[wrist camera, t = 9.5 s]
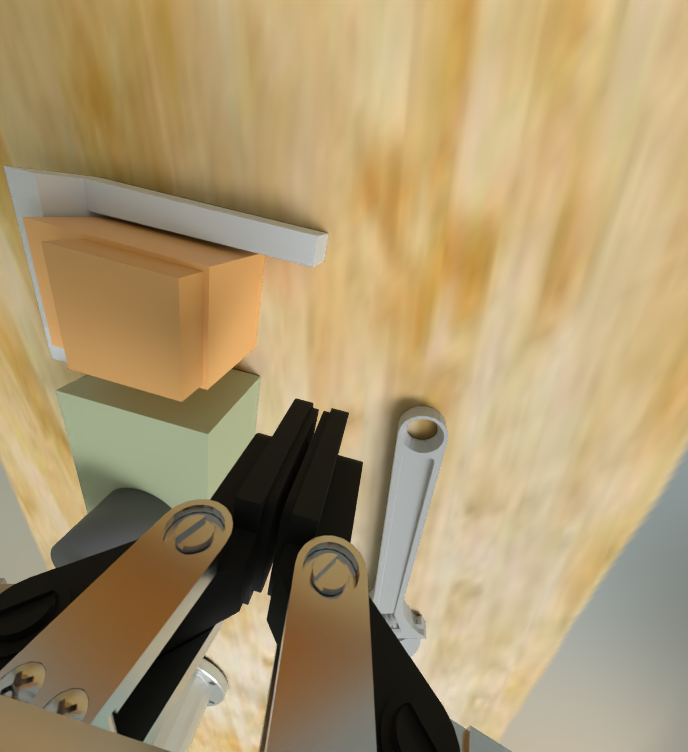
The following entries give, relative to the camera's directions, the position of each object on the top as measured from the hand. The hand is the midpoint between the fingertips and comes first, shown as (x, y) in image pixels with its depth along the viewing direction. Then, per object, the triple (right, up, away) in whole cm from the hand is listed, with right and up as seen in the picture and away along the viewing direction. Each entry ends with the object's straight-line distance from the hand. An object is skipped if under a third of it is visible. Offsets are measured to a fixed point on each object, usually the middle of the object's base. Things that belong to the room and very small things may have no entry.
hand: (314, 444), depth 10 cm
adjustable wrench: (+5, -11, +14) cm, 18 cm away
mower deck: (-7, +1, +9) cm, 12 cm away
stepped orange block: (-7, +7, +7) cm, 12 cm away
